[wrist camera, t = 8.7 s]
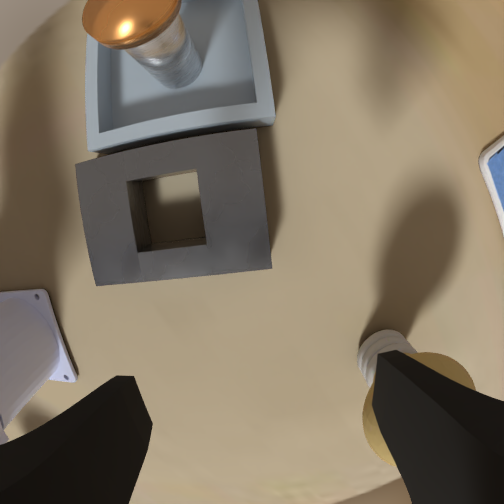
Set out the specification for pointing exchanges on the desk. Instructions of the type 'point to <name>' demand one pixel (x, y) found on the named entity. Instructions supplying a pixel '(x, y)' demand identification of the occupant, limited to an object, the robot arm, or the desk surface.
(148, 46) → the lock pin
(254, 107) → the tray
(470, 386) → the light bulb
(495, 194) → the tablet computer
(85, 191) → the block
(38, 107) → the desk surface
